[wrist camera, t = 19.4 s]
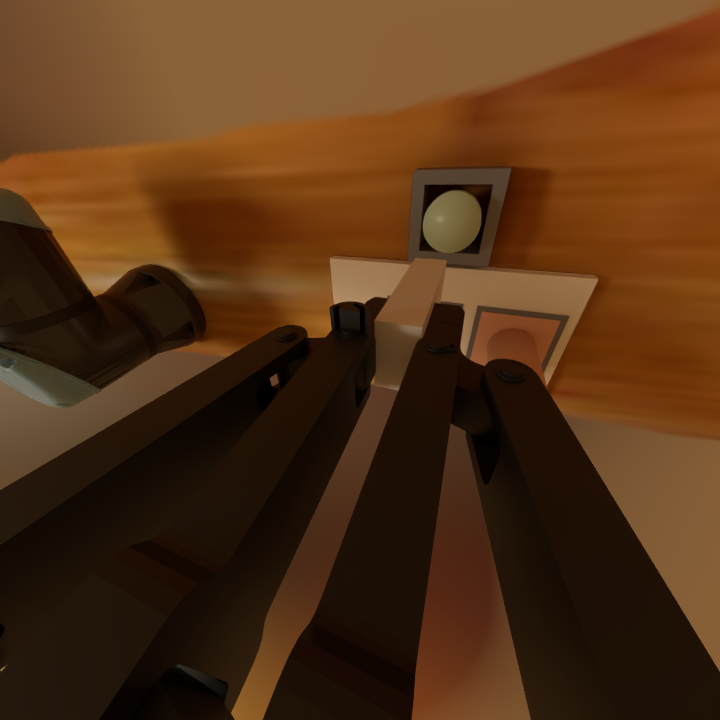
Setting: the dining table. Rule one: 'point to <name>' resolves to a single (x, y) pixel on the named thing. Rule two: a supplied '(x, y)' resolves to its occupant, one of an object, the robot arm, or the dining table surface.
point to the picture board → (483, 300)
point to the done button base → (457, 176)
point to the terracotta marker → (515, 349)
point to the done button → (452, 221)
